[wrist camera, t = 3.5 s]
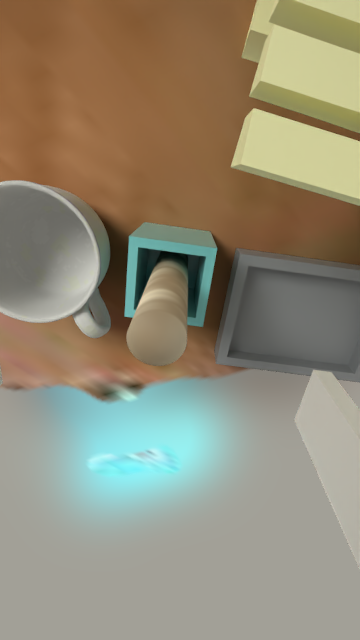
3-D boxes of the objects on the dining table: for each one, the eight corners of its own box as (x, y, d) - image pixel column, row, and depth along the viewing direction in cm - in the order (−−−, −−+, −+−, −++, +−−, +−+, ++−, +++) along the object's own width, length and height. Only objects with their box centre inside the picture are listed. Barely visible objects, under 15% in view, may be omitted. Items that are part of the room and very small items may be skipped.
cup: (139, 285, 31) (124, 316, 24) (144, 222, 28) (129, 236, 21) (199, 293, 31) (202, 326, 24) (210, 231, 29) (217, 248, 21)
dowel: (156, 273, 30) (124, 361, 15) (159, 243, 28) (128, 308, 14) (186, 277, 30) (182, 369, 15) (190, 248, 29) (191, 317, 14)
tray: (214, 351, 34) (216, 363, 32) (236, 247, 29) (240, 253, 27) (348, 368, 35) (360, 382, 32) (393, 269, 30) (410, 277, 27)
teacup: (-11, 208, 28) (-80, 217, 21) (88, 160, 26) (49, 153, 19) (64, 329, 34) (30, 369, 26) (151, 297, 32) (139, 331, 24)
